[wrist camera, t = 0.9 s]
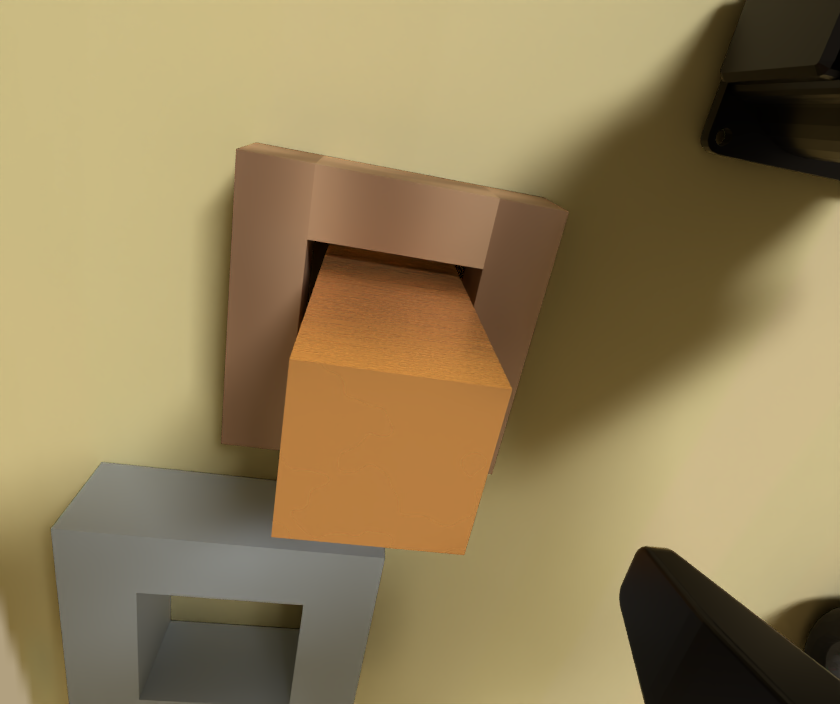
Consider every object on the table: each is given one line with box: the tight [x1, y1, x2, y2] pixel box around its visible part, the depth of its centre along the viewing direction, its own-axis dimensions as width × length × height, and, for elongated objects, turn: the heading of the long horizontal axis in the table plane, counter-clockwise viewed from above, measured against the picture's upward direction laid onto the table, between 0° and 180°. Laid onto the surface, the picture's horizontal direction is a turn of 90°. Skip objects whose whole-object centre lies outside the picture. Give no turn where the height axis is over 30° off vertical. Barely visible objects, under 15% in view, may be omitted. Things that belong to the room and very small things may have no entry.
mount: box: [221, 143, 569, 474], centre depth 17 cm, size 9×9×2 cm
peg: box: [271, 243, 512, 555], centre depth 15 cm, size 4×4×9 cm
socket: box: [51, 462, 385, 704], centre depth 22 cm, size 11×11×4 cm
